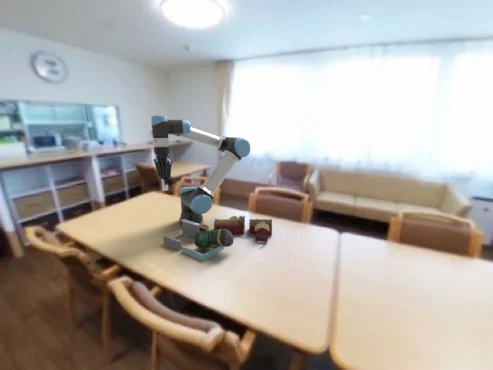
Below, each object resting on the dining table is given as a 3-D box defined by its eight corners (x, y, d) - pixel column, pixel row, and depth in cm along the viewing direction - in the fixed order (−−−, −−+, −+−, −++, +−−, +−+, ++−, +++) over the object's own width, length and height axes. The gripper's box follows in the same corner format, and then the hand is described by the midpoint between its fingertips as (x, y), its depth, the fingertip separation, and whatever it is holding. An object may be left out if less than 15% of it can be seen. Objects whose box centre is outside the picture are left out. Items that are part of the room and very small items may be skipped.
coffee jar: (191, 245, 116) (225, 242, 109) (194, 230, 120) (226, 226, 114) (202, 250, 124) (234, 248, 117) (204, 236, 128) (235, 232, 121)
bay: (184, 234, 140) (183, 218, 137) (200, 240, 132) (199, 223, 130) (163, 244, 128) (162, 227, 126) (179, 250, 121) (178, 233, 119)
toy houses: (271, 227, 149) (271, 212, 147) (272, 242, 130) (272, 225, 127) (200, 226, 152) (200, 211, 150) (191, 240, 132) (190, 224, 130)
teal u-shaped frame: (202, 240, 132) (202, 235, 131) (224, 248, 123) (223, 243, 122) (181, 251, 120) (181, 246, 119) (204, 261, 111) (203, 255, 110)
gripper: (147, 146, 123) (152, 190, 129) (163, 147, 116) (167, 193, 122) (160, 145, 129) (163, 187, 135) (175, 146, 122) (178, 190, 127)
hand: (165, 190), depth 128 cm, fingers closed
